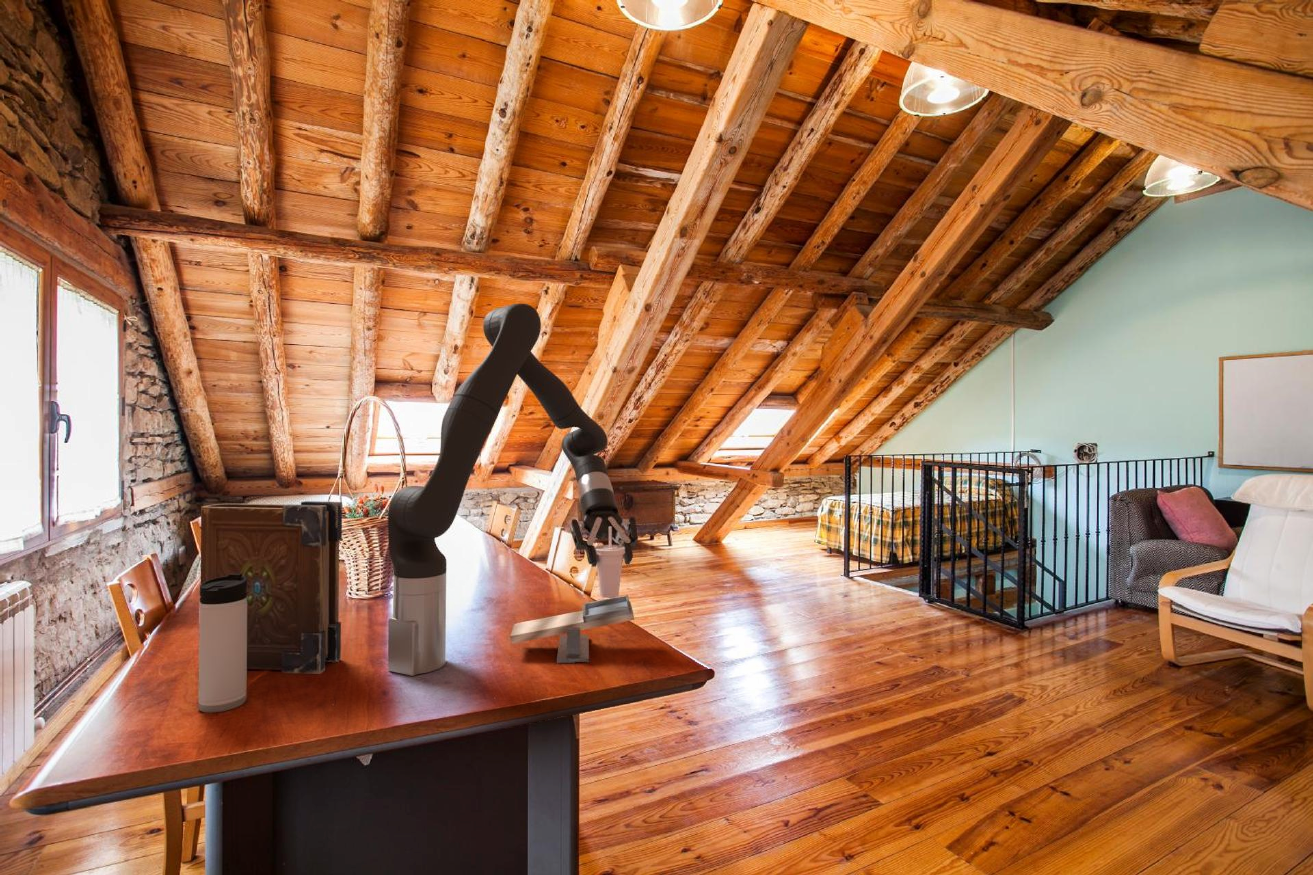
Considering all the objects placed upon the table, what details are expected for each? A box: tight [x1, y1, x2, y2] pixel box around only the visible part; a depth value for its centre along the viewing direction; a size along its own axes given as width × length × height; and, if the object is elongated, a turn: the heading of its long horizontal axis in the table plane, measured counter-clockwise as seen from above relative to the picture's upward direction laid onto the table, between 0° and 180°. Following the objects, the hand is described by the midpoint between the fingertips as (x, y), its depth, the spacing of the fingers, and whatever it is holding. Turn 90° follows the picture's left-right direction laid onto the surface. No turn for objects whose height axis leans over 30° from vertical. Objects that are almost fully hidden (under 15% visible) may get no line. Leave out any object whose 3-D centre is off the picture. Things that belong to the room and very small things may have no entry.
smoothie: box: [594, 526, 625, 599], centre depth 128 cm, size 6×6×14 cm
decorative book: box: [200, 500, 343, 675], centre depth 117 cm, size 23×7×30 cm, turn 88°
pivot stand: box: [556, 612, 590, 664], centre depth 127 cm, size 6×14×6 cm, turn 7°
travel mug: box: [197, 574, 248, 714], centre depth 100 cm, size 6×7×20 cm
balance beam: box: [509, 594, 635, 645], centre depth 127 cm, size 24×10×3 cm, turn 96°
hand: (611, 563), depth 127 cm, fingers closed on smoothie, 6 cm apart
